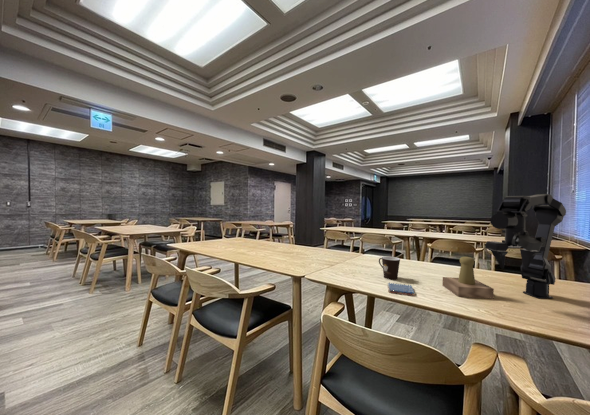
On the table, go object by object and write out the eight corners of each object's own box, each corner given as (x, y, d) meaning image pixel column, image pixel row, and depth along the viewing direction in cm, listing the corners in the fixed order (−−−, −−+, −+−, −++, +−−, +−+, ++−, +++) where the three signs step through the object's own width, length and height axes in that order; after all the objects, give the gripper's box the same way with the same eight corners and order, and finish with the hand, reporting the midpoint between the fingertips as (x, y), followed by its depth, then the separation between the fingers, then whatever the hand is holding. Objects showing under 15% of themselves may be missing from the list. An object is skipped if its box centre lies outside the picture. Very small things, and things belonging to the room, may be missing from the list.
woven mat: (412, 289, 105) (412, 284, 105) (415, 297, 95) (415, 292, 95) (387, 286, 108) (387, 281, 108) (388, 294, 98) (388, 289, 98)
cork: (473, 285, 96) (474, 259, 96) (456, 282, 101) (456, 256, 101) (476, 282, 100) (477, 257, 100) (460, 279, 105) (460, 254, 105)
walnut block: (473, 287, 106) (473, 278, 106) (493, 298, 94) (493, 288, 94) (442, 285, 108) (442, 277, 108) (458, 296, 95) (458, 286, 95)
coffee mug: (402, 280, 115) (403, 260, 115) (385, 280, 115) (385, 260, 115) (393, 273, 126) (393, 255, 126) (377, 273, 126) (377, 255, 126)
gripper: (510, 230, 82) (509, 274, 83) (562, 230, 83) (561, 274, 83) (484, 227, 94) (483, 266, 94) (530, 227, 94) (529, 266, 94)
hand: (514, 268), depth 91 cm, fingers open, 9 cm apart
